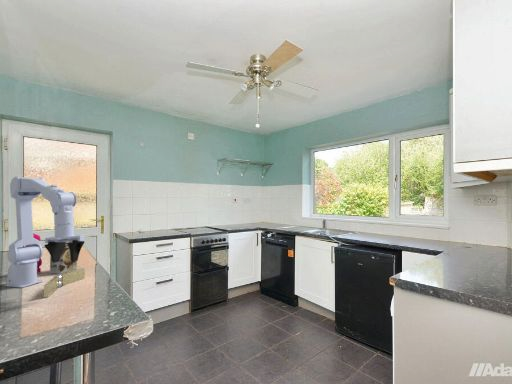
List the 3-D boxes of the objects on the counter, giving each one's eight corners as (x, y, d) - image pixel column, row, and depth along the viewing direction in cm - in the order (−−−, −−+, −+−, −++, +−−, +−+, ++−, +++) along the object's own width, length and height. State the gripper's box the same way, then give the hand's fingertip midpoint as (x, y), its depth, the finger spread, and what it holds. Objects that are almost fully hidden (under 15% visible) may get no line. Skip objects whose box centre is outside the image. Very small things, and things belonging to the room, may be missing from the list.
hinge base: (51, 288, 102) (51, 276, 102) (81, 278, 114) (81, 267, 115) (56, 288, 101) (57, 277, 101) (86, 278, 114) (86, 268, 114)
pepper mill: (29, 271, 127) (30, 230, 127) (45, 270, 127) (45, 229, 128) (17, 275, 119) (18, 232, 120) (34, 275, 120) (34, 231, 121)
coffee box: (60, 274, 121) (61, 239, 122) (49, 273, 122) (49, 239, 123) (77, 268, 130) (78, 236, 130) (67, 268, 131) (67, 236, 132)
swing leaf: (41, 297, 92) (41, 285, 92) (54, 286, 104) (54, 275, 104) (50, 296, 93) (50, 284, 93) (62, 285, 105) (62, 274, 105)
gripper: (36, 226, 93) (37, 264, 93) (72, 224, 91) (73, 263, 91) (54, 225, 100) (55, 260, 100) (88, 222, 98) (89, 259, 98)
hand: (65, 261), depth 96 cm, fingers open, 7 cm apart
